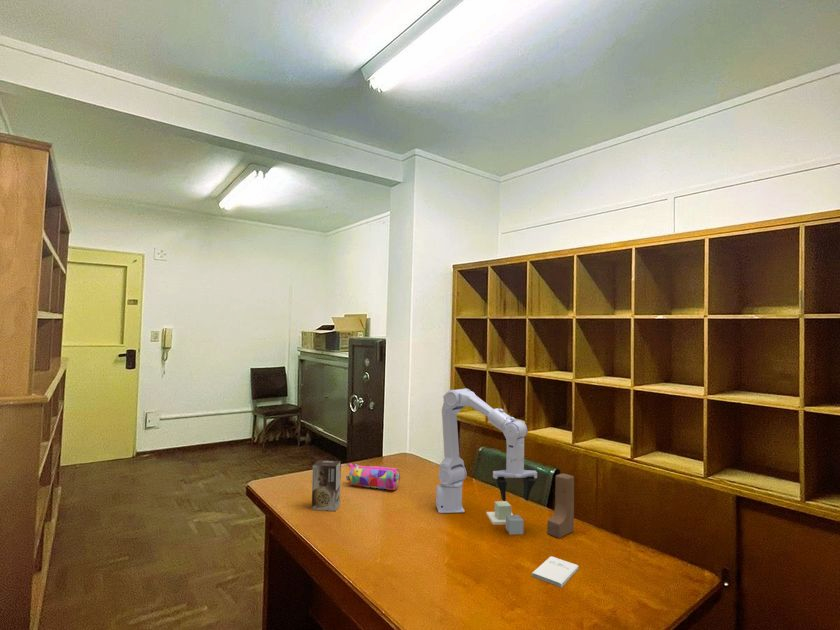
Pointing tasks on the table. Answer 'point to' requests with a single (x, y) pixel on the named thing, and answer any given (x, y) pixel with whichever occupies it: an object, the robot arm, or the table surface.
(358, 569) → the table surface
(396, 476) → the pencil case
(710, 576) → the table surface
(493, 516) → the base tile
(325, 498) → the coffee box
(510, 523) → the slate cube
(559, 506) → the wooden block
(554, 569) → the external hard drive
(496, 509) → the sage cube
